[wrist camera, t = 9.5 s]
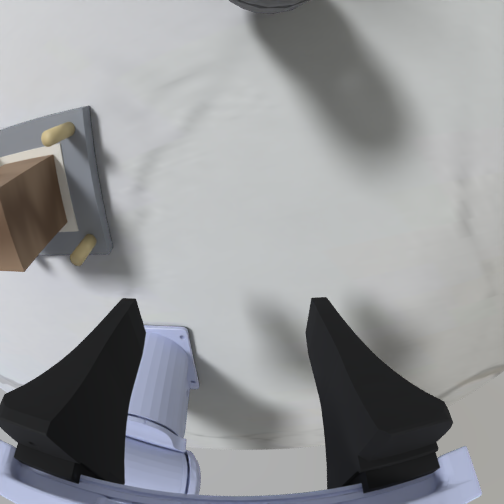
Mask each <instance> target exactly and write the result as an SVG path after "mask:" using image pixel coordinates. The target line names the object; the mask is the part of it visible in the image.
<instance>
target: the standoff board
mask: <svg viewBox="0 0 504 504" xmlns="http://www.w3.org/2000/svg"><path fill="white" fill-rule="evenodd" d="M52 154H53V155H54V161H55V166H56V172H57V177H58V182H59V187H60V192H61V196H62V201H63V205H64V210H65V214H66V218H67V223H66V225H65V226H64V227H63V228H62V229H61V230H60V231H59V232H58V233H57V234H56V235H55V236H54V238H53V239H52V240H51V241H50V242H49V243H48V244H47V245H46V247H45V248H44V249H43V250H42V251H41V252H40V253H39V255H70V260H71V262H72V263H73V264H74V265H76V266H81V265H82V264H83V262H84V261H85V259H86V258H87V256H88V255H91V254H109V253H110V251H111V250H112V248H113V244H112V240H111V236H110V232H109V227H108V223H107V218H106V213H105V209H104V204H103V199H102V193H101V188H100V182H99V177H98V171H97V164H96V158H95V151H94V144H93V136H92V127H91V118H90V108H89V106H86V107H81V108H76V109H72V110H68V111H63V112H59V113H55V114H51V115H48V116H44V117H40V118H37V119H33V120H30V121H26V122H23V123H20V124H17V125H14V126H11V127H8V128H5V129H2V130H0V167H1V166H2V165H4V164H8V163H13V162H17V161H22V160H26V159H31V158H36V157H41V156H47V155H52Z"/></svg>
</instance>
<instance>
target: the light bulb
mask: <svg viewBox="0 0 504 504" xmlns="http://www.w3.org/2000/svg"><path fill="white" fill-rule="evenodd" d="M229 1H230V2H232V3H234V4H235V5H237V6H239V7H241V8H243V9H246V10H249V11H252V12H255V13H271V14H274V13H278V12H283V11H288V10H293V9H294V8H296V7H298V6H300V5H302V4H303V3H305V2H307V1H309V0H229Z"/></svg>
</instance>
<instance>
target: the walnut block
mask: <svg viewBox="0 0 504 504" xmlns="http://www.w3.org/2000/svg"><path fill="white" fill-rule="evenodd" d="M66 223H67V218H66V214H65V210H64V205H63V201H62V196H61V192H60V187H59V182H58V177H57V172H56V166H55V161H54V155H53V154H52V155H47V156H41V157H36V158H31V159H26V160H22V161H17V162H13V163H8V164H4V165H2V166H1V167H0V271H18V272H25V270H26V269H27V268H28V267H29V265H30V264H31V263H32V262H33V261H34V259H35V258H36V257H37V256H38V255H39V253H40V252H41V251H42V250H43V249H44V248H45V247H46V245H47V244H48V243H49V242H50V241H51V240H52V239H53V238H54V236H55V235H56V234H57V233H58V232H59V231H60V230H61V229H62V228H63V227H64V226H65V225H66Z"/></svg>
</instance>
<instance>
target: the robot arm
mask: <svg viewBox="0 0 504 504" xmlns="http://www.w3.org/2000/svg"><path fill="white" fill-rule="evenodd" d="M182 335H183V336H182ZM306 340H307V347H308V354H309V359H310V362H311V366H312V370H313V374H314V378H315V382H316V386H317V390H318V394H319V398H320V403H321V409H322V417H323V425H324V435H325V446H326V461H327V490H320V491H313V492H304V493H295V494H283V495H268V496H208V495H199V491H200V483H201V473H200V467H199V464H198V461H197V460H196V458H195V456H194V454H193V453H192V452H191V451H188V450H186V439H184V435H185V429H186V419H187V409H188V400H189V391H190V389H198V388H199V381H198V376H197V372H196V367H195V363H194V358H193V353H192V349H191V344H190V339H189V334H188V330H187V329H186V328H185V327H179V326H149V325H143V321H142V318H141V315H140V311H139V308H138V305H137V301H136V299H128V298H123V299H122V300H121V301H120V302H119V303H118V304H117V305H116V306H115V307H114V308H113V309H112V310H111V311H110V313H109V314H108V315H107V316H106V317H105V318H104V319H103V320H102V321H101V322H100V324H99V325H98V326H97V327H96V328H95V329H94V330H93V331H92V332H91V333H90V334H89V335H88V336H87V337H86V338H85V339H84V340H83V341H82V342H81V343H80V344H79V345H78V346H77V347H76V348H75V349H74V350H73V351H71V352H70V353H69V354H68V355H67V356H66V357H64V358H63V359H62V360H61V361H60V362H58V363H57V364H55V365H54V366H53V367H51V368H50V369H49V370H47V371H46V372H44V373H43V374H41V375H40V376H38V377H37V378H35V379H34V380H32V381H30V382H28V383H27V384H25V385H23V386H21V387H19V388H17V389H15V390H13V391H11V392H9V393H6V394H5V395H4V397H3V399H2V401H1V404H0V427H1V428H2V429H3V430H4V431H5V432H6V433H7V434H8V435H9V436H11V437H12V438H13V439H14V440H15V441H17V442H18V445H17V448H15V447H14V446H12V445H10V444H8V443H6V442H4V441H2V440H0V495H1V496H3V497H5V498H7V499H9V500H10V501H12V502H14V503H16V504H467V503H468V502H470V501H472V500H474V499H476V498H478V497H480V496H481V495H482V492H481V488H480V485H479V482H478V479H477V476H476V473H475V469H474V467H473V463H472V461H471V458H470V455H469V452H468V449H467V447H466V446H463V447H461V448H458V449H456V450H453V451H451V452H448V453H446V454H444V455H442V456H440V457H438V458H437V456H436V453H435V452H436V451H438V446H437V443H436V441H438V440H439V439H440V438H441V437H442V436H443V435H444V434H445V433H446V432H447V431H448V430H449V429H450V428H451V426H452V424H453V421H452V418H451V416H450V413H449V410H448V408H447V406H446V404H445V402H444V401H442V400H440V399H438V398H436V397H434V396H432V395H430V394H428V393H426V392H425V391H423V390H421V389H420V388H418V387H416V386H415V385H413V384H411V383H410V382H408V381H407V380H406V379H404V378H403V377H401V376H400V375H399V374H397V373H396V372H395V371H393V370H392V369H391V368H390V367H388V366H387V365H386V364H385V363H384V362H382V361H381V360H380V359H379V358H378V357H377V356H376V355H375V354H374V353H373V352H372V351H371V350H370V349H369V348H368V347H367V346H366V345H365V344H364V343H363V342H362V341H361V340H360V339H359V337H358V336H357V335H356V334H355V333H354V332H353V330H352V329H351V328H350V327H349V326H348V325H347V323H346V322H345V321H344V320H343V318H342V317H341V316H340V314H339V313H338V312H337V311H336V309H335V308H334V307H333V305H332V304H331V303H330V301H329V300H328V299H327V298H326V297H321V298H311V304H310V310H309V316H308V322H307V328H306Z"/></svg>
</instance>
